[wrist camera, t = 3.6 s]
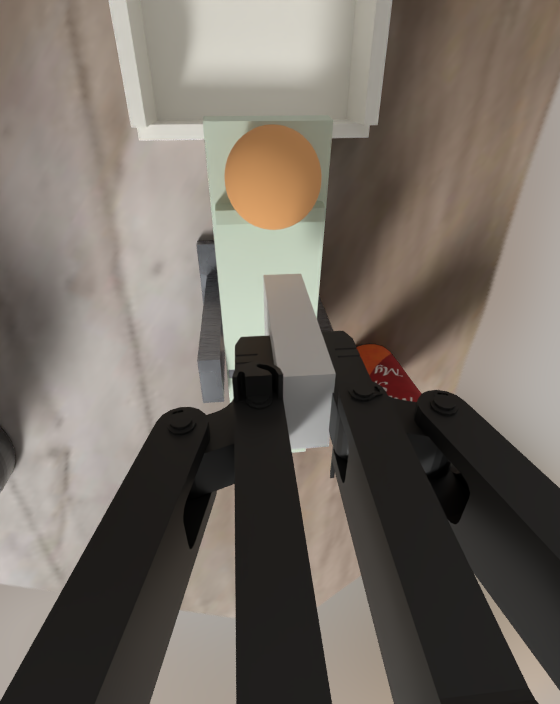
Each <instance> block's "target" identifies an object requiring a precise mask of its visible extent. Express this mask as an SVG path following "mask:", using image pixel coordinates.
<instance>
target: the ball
mask: <svg viewBox="0 0 560 704" xmlns="http://www.w3.org/2000/svg"><path fill="white" fill-rule="evenodd" d="M224 175H225V187H226V192H227V195H228V198H229V200H230V202H231V204H232V206H233V207H234V209H235V210H236V211H237V213H238V214H239V215H240V216H241V217H242V218H243V219H244V220H246V221H247V222H249V223H250V224H252V225H254V226H256V227H259V228H262V229H268V230H279V229H284V228H288V227H290V226H293V225H295V224H296V223H298V222H300V221H301V220H302V219H304V218H305V217H306V216H307V215H308V213H309V212H310V211H311V210H312V208H313V207H314V205H315V203H316V201H317V199H318V196H319V193H320V188H321V178H322V174H321V167H320V162H319V159H318V156H317V154H316V152H315V150H314V148H313V147H312V145H311V144H310V143H309V141H308V140H307V139H306V138H305V137H304V136H303V135H301V134H300V133H299V132H297V131H295V130H294V129H292V128H289V127H286V126H282V125H275V124H270V125H263V126H259V127H256V128H254V129H252V130H250V131H248V132H247V133H246V134H244V135H243V136H242V137H241V138H240V139H239V140H238V141H237V142H236V143H235V145H234V146H233V148H232V150H231V151H230V154H229V156H228V158H227V162H226V166H225V174H224Z"/></svg>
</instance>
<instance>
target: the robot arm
mask: <svg viewBox="0 0 560 704" xmlns="http://www.w3.org/2000/svg"><path fill="white" fill-rule="evenodd" d="M263 287H264V329H265V336H248V337H240V339H239V340H238V342H237V343H236V344H235V371H234V373H233V376H232V384H233V396H234V398H233V400H232V402H231V403H230V404H229V405H228V406H227V407H225V408H224V409H222V410H220V411H217V412H215V413H212V414H208V415H205V413H203V412H202V411H201V410H199V409H196V408H192V407H180V408H176V409H173V410H170V411H168V412H167V413H165V414H163V415H162V416H161V417H160V418H159V419H158V421H157V422H156V424H155V425H154V427H153V429H152V431H151V432H150V434H149V436H148V438H147V440H146V441H145V443H144V445H143V447H142V449H141V450H140V452H139V454H138V456H137V458H136V459H135V461H134V463H133V465H132V466H131V468H130V470H129V472H128V474H127V475H126V477H125V479H124V481H123V483H122V484H121V486H120V488H119V490H118V491H117V493H116V495H115V497H114V499H113V500H112V502H111V504H110V506H109V508H108V509H107V511H106V513H105V515H104V517H103V518H102V520H101V522H100V524H99V525H98V527H97V529H96V531H95V533H94V534H93V536H92V538H91V540H90V542H89V543H88V545H87V547H86V549H85V551H84V552H83V554H82V556H81V558H80V559H79V561H78V563H77V565H76V567H75V568H74V570H73V572H72V574H71V576H70V577H69V579H68V581H67V583H66V584H65V586H64V588H63V590H62V592H61V593H60V595H59V597H58V599H57V601H56V602H55V604H54V606H53V608H52V610H51V611H50V613H49V615H48V617H47V618H46V620H45V622H44V624H43V626H42V627H41V629H40V631H39V633H38V635H37V636H36V638H35V640H34V642H33V644H32V646H31V647H30V649H29V651H28V653H27V654H26V656H25V658H24V660H23V661H22V663H21V665H20V667H19V669H18V670H17V672H16V674H15V676H14V678H13V680H12V681H11V683H10V685H9V686H8V688H7V690H6V692H5V694H4V696H3V697H2V699H1V701H0V704H150V700H151V697H152V694H153V691H154V688H155V685H156V682H157V678H158V675H159V672H160V669H161V666H162V663H163V660H164V657H165V653H166V650H167V647H168V644H169V641H170V638H171V635H172V632H173V628H174V625H175V622H176V619H177V616H178V613H179V610H180V607H181V603H182V600H183V597H184V594H185V591H186V588H187V585H188V582H189V578H190V575H191V572H192V569H193V566H194V563H195V560H196V556H197V553H198V550H199V547H200V544H201V541H202V538H203V535H204V531H205V528H206V525H207V522H208V519H209V516H210V513H211V510H212V506H213V503H214V500H215V497H216V493H217V490H219V489H222V488H224V487H227V486H230V485H232V484H235V585H236V694H237V695H236V697H237V698H236V699H237V701H236V704H332V701H331V694H330V688H329V682H328V676H327V670H326V664H325V657H324V651H323V644H322V639H321V632H320V626H319V619H318V613H317V607H316V601H315V594H314V588H313V582H312V576H311V570H310V563H309V557H308V551H307V545H306V538H305V532H304V526H303V520H302V513H301V507H300V501H299V495H298V488H297V482H296V476H295V470H294V463H293V457H292V451H291V449H301V448H314V447H328V446H329V438H330V437H331V440H332V444H333V451H332V460H331V470H330V478H334V474H336V478H337V482H338V486H339V490H340V493H341V497H342V501H343V505H344V509H345V513H346V517H347V521H348V525H349V529H350V533H351V537H352V541H353V545H354V548H355V552H356V556H357V560H358V564H359V568H360V572H361V576H362V580H363V584H364V588H365V592H366V595H367V600H368V603H369V607H370V611H371V615H372V619H373V623H374V627H375V631H376V635H377V639H378V643H379V647H380V651H381V655H382V658H383V662H384V666H385V670H386V674H387V678H388V682H389V686H390V690H391V694H392V698H393V701H394V704H538V702H537V701H536V700H535V698H534V696H533V695H532V693H531V691H530V689H529V688H528V686H527V683H526V681H525V679H524V677H523V675H522V673H521V671H520V669H519V667H518V665H517V663H516V661H515V658H514V656H513V654H512V652H511V650H510V648H509V646H508V644H507V642H506V640H505V638H504V636H503V634H502V632H501V629H500V627H499V625H498V623H497V621H496V619H495V617H494V615H493V613H492V611H491V609H490V606H489V605H488V603H487V601H486V598H485V596H484V594H483V592H482V590H481V588H480V586H479V584H478V582H477V580H476V577H477V578H478V579H479V581H480V582H481V583H482V585H483V586H484V588H485V589H486V590H487V592H488V593H489V594H490V596H491V597H492V599H493V600H494V601H495V603H496V604H497V605H498V607H499V608H500V609H501V611H502V612H503V614H504V615H505V616H506V618H507V619H508V620H509V622H510V623H511V625H512V626H513V627H514V629H515V630H516V631H517V633H518V634H519V635H520V637H521V638H522V639H523V641H524V642H525V644H526V645H527V646H528V648H529V649H530V650H531V652H532V653H533V655H534V656H535V657H536V659H537V660H538V661H539V663H540V664H541V666H542V667H543V668H544V670H545V671H546V672H547V673H548V675H549V676H550V678H551V679H552V681H553V682H554V683H555V685H556V686H557V687H558V689H559V690H560V488H559V487H558V486H557V485H556V484H554V483H553V482H552V481H551V480H550V479H549V478H548V477H547V476H546V475H545V474H543V473H542V472H541V471H540V470H539V469H538V468H537V467H536V466H535V465H534V464H533V463H531V462H530V461H529V460H528V459H527V458H526V457H525V456H524V455H523V454H522V453H520V451H518V450H517V449H516V448H515V447H514V446H513V445H512V444H511V443H510V442H509V441H508V440H506V439H505V438H504V437H503V436H502V435H501V434H500V433H499V432H498V431H496V429H494V428H493V427H492V426H491V425H490V424H489V423H488V422H487V421H486V420H485V419H484V418H483V417H481V416H480V415H479V414H478V413H477V412H476V411H475V410H474V409H473V408H472V407H471V406H469V405H468V404H467V403H466V402H465V401H464V400H462V399H461V398H460V397H458V396H457V395H454V394H452V393H449V392H447V391H440V390H432V391H427V392H424V393H422V394H421V395H420V397H419V398H418V400H417V402H412V401H406V400H400V399H396V398H392V397H390V396H388V394H387V392H386V391H385V390H384V388H383V387H382V386H380V385H379V384H377V383H376V382H373V381H372V380H371V378H370V376H369V373H368V371H367V369H366V367H365V365H364V362H363V360H362V358H361V357H360V354H359V352H358V349H357V347H356V345H355V343H354V341H353V338H351V337H350V336H349V335H348V334H346V333H345V332H344V331H327V332H321V330H320V327H319V324H318V321H317V318H316V315H315V312H314V309H313V307H312V304H311V301H310V298H309V295H308V292H307V289H306V286H305V283H304V281H303V278H302V275H301V274H276V275H263ZM14 466H15V452H14V448H13V445H12V443H11V441H10V439H9V438H8V436H7V435H6V433H5V432H4V431H3V430H2V428H1V427H0V492H1V491H2V490H3V488H4V486H5V484H6V483H7V481H8V479H9V477H10V475H11V473H12V472H13V469H14ZM474 574H475V575H476V577H475V575H474Z"/></svg>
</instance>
